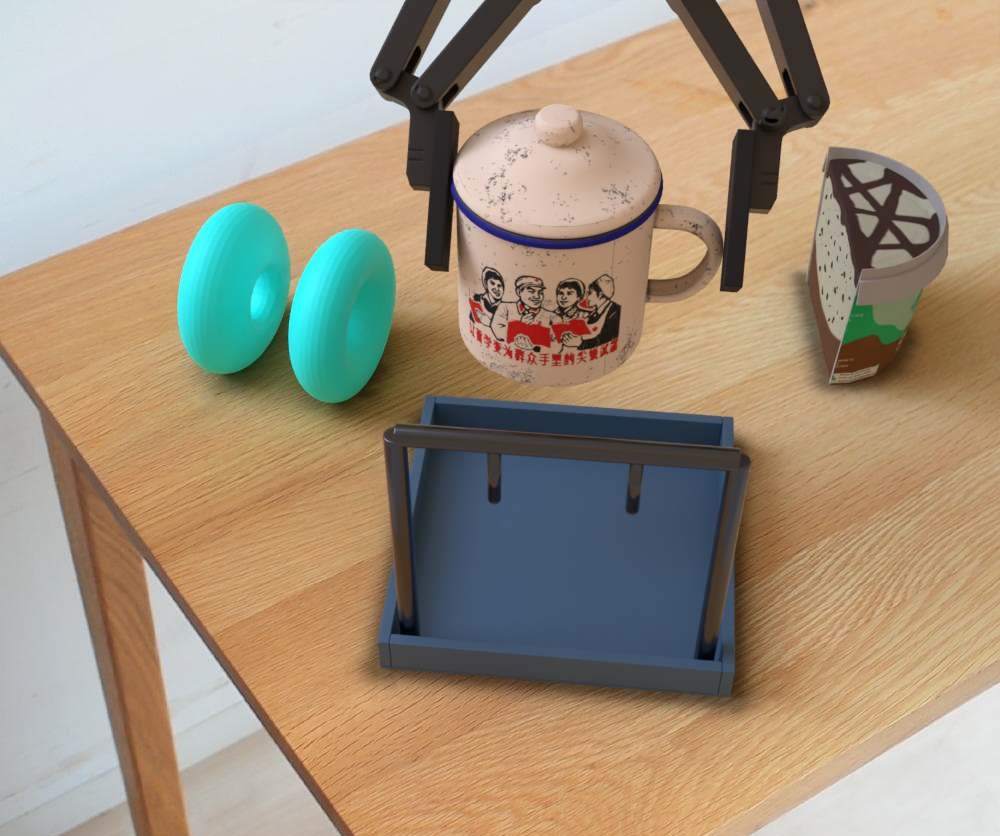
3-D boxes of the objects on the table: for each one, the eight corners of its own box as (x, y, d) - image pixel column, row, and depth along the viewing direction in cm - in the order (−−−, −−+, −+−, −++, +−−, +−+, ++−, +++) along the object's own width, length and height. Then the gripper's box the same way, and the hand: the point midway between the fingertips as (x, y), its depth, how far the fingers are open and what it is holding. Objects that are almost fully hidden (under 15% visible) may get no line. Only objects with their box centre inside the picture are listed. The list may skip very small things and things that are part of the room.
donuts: (260, 296, 91) (238, 163, 83) (407, 333, 89) (398, 199, 81) (184, 401, 85) (154, 268, 77) (340, 443, 82) (324, 310, 75)
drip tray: (727, 451, 82) (733, 416, 80) (728, 705, 71) (735, 672, 69) (427, 429, 83) (425, 394, 81) (380, 675, 72) (376, 642, 70)
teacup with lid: (440, 386, 65) (432, 172, 57) (468, 258, 71) (464, 47, 63) (706, 409, 64) (740, 195, 56) (711, 278, 70) (742, 66, 62)
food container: (936, 409, 84) (979, 276, 77) (831, 410, 84) (864, 276, 77) (896, 273, 92) (932, 140, 85) (800, 273, 92) (827, 140, 85)
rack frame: (710, 673, 72) (753, 443, 60) (709, 690, 71) (753, 461, 59) (403, 647, 73) (383, 416, 61) (400, 663, 72) (380, 433, 60)
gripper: (897, -186, 64) (852, 305, 65) (355, -212, 65) (322, 267, 67) (936, -265, 56) (884, 291, 58) (323, -292, 58) (286, 249, 59)
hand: (582, 279), depth 62 cm, fingers closed on teacup with lid, 12 cm apart
